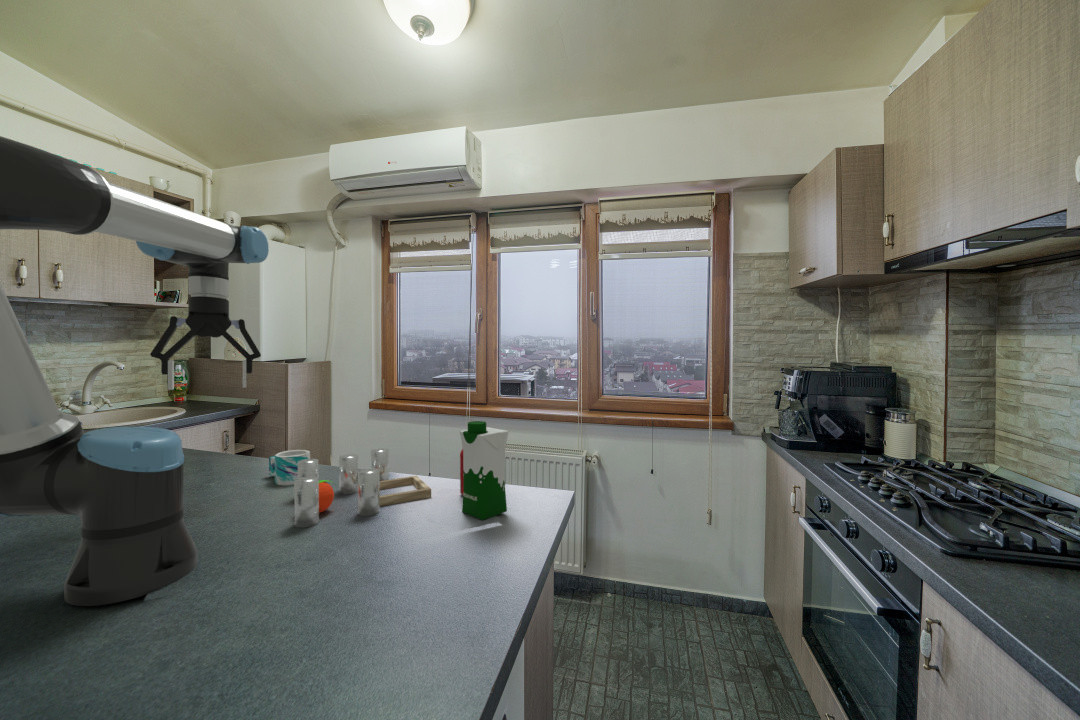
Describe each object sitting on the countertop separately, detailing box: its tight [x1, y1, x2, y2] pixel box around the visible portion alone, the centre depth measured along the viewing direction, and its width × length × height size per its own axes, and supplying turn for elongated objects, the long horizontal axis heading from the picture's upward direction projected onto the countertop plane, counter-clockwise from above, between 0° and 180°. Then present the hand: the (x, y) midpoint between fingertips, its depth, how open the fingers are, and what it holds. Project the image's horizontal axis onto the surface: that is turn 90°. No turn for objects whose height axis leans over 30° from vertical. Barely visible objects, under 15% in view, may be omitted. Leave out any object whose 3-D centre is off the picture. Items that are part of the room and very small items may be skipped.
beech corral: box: [380, 475, 432, 507], centre depth 106 cm, size 13×13×2 cm
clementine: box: [319, 479, 338, 514], centre depth 94 cm, size 8×7×7 cm
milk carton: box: [459, 420, 509, 521], centre depth 94 cm, size 9×9×20 cm
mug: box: [268, 449, 311, 486], centre depth 115 cm, size 8×12×8 cm
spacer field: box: [293, 447, 390, 529], centre depth 101 cm, size 24×22×9 cm
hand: (209, 388), depth 100 cm, fingers open, 13 cm apart
